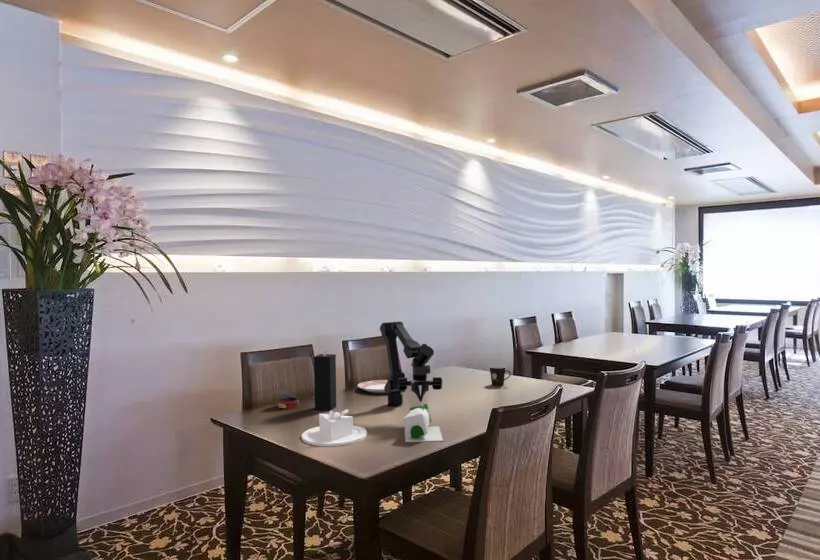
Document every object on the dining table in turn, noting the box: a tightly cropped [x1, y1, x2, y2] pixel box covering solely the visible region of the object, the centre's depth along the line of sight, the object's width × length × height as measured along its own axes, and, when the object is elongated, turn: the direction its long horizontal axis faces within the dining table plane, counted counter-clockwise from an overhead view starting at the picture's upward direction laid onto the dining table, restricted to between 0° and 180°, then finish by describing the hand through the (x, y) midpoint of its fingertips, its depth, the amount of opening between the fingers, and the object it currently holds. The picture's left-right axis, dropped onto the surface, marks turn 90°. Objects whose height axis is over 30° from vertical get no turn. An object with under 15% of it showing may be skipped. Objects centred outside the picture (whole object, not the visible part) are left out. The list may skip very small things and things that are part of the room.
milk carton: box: [403, 403, 432, 438], centre depth 208 cm, size 9×9×20 cm
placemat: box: [403, 425, 444, 443], centre depth 207 cm, size 18×14×1 cm
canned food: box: [277, 390, 300, 410], centre depth 253 cm, size 11×10×10 cm
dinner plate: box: [357, 379, 388, 394], centre depth 287 cm, size 27×27×3 cm
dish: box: [301, 408, 368, 447], centre depth 206 cm, size 25×25×11 cm
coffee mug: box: [489, 365, 512, 387], centre depth 293 cm, size 12×9×10 cm
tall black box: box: [313, 347, 337, 411], centre depth 248 cm, size 8×8×28 cm
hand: (420, 401), depth 220 cm, fingers closed
